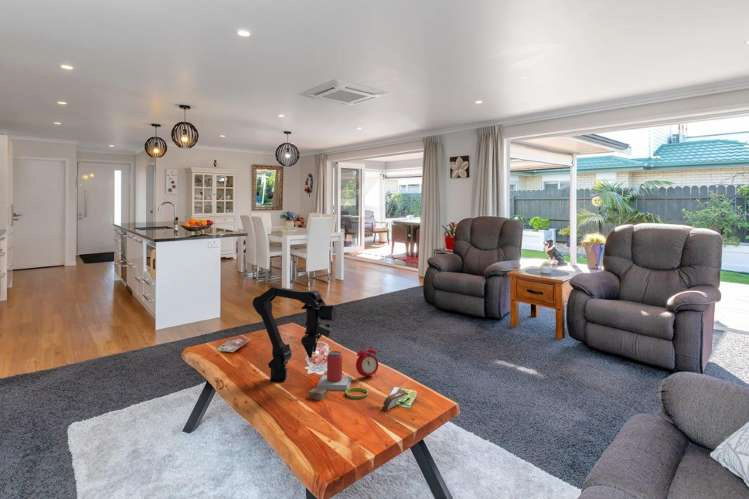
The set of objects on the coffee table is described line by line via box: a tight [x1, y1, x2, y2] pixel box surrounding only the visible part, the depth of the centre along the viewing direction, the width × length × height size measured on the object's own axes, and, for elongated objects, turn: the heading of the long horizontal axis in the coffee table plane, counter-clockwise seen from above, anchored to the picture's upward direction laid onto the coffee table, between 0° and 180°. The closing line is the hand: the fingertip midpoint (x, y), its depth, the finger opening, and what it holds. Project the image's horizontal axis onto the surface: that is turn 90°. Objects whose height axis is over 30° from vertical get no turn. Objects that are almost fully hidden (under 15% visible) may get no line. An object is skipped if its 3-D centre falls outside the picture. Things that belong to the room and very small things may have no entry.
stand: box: [315, 374, 353, 392], centre depth 182 cm, size 14×14×2 cm
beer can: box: [326, 350, 343, 382], centre depth 182 cm, size 7×7×12 cm
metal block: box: [308, 387, 328, 401], centre depth 168 cm, size 6×4×3 cm, turn 68°
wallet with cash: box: [381, 390, 409, 412], centre depth 167 cm, size 15×3×8 cm, turn 137°
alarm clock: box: [355, 343, 379, 380], centre depth 192 cm, size 10×6×15 cm, turn 117°
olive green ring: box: [345, 386, 369, 400], centre depth 171 cm, size 9×9×9 cm
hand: (312, 354), depth 182 cm, fingers open, 9 cm apart
